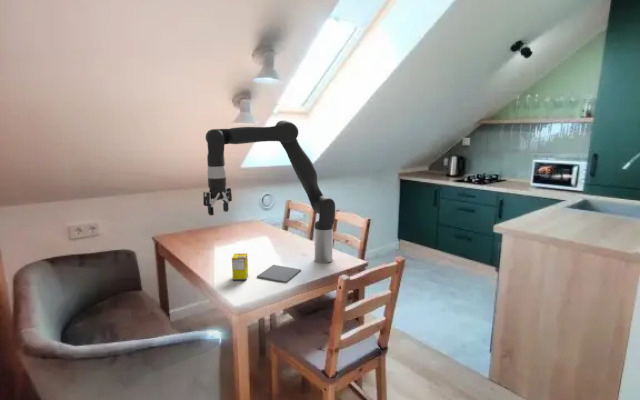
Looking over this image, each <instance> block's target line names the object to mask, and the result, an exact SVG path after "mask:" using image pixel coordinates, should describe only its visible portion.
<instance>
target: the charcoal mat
mask: <svg viewBox="0 0 640 400" xmlns="http://www.w3.org/2000/svg"><path fill="white" fill-rule="evenodd" d="M301 271H302V269H301V268H295V267H288V266H284V265H279V264H278V265H277V264H272V265H271V266H269V267H268V268H267V269H265V270H264V271H262V272H261V273H259V274H257V276H256V278H257V279H263V280H268V281H274V282H277V283H278V282H279V283H284V284H287V283H288V282H290V281H291V280H292V279H293V278H295V277H296V276H297V275H298V274H299V273H301Z"/></svg>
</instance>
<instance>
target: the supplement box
mask: <svg viewBox="0 0 640 400" xmlns="http://www.w3.org/2000/svg"><path fill="white" fill-rule="evenodd" d="M248 264H249V263H248V253H233V255H232V257H231V267H232V281H233V282H239V281H240V282H241V281H243V282H244V281H247V279H248V277H249V265H248Z"/></svg>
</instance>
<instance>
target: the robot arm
mask: <svg viewBox="0 0 640 400" xmlns="http://www.w3.org/2000/svg"><path fill="white" fill-rule="evenodd" d="M298 137H299V128H298V127H297V125H296V124H295V123H293V122H291V121H289V120H279V121H278V122H276V124H275V125H273V126H241V127H240V126H238V127H237V126H236V127H231V128H213V129H210V130H207V132H206V133H205V140H206V143H207V157H206V158H207V185H208V186H207V187H208V189H209V191H204V192H203V196H202V197H203V199H202V200H203V201H202V202H203V206H205V207H207V214H208V216H214V215H215V213H214V205H215V203H217V201H219V200H221V201H222V207H223V210H222V211H223V212H225V213H228V211H229V203H230V202H232V200H233V197H232V188H231V187H227V173H226V171H227V170H226V164H225V145H230V144H231V145H243V144H252V143H261V142H279V143H280V144H281V146H282V148H283V149H284V151H285V153H286V155H287V157H288V159H289V162H290V164H291V166H292V168H293V170H294V172H295V174H296V176H297V178H298V180H299V181H300V182H299V183H300V184H301V186H302V187H303V189H304V191H305V193H306V195H307V198H308V201H309V203H310V206H311V208H312V210H313V212H314V213H316V214H317V215H318V220H317V221H315V222H314V261H315V262H316V263H319V264H327V263H328V262H329V263H331V262H332V261H333V247H334V246H333V245H334V244H333V241H334V237H333V236H334V234H333V233H334V223H335V220H336V219H335V217H336V203H335V200H333V199H332V198H330V197H328V196H325V195H324V194H323V193H322V191H321V189H320V187H319V184H318V174H317V171H316V168H315V166H314V163H313V162H312V160H311V158H310V157H309V156H308V154H307V153H306V151H305V150H304V149H303V148H302V146H301V145H300V143H299V141H298ZM329 263H328V264H329Z"/></svg>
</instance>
